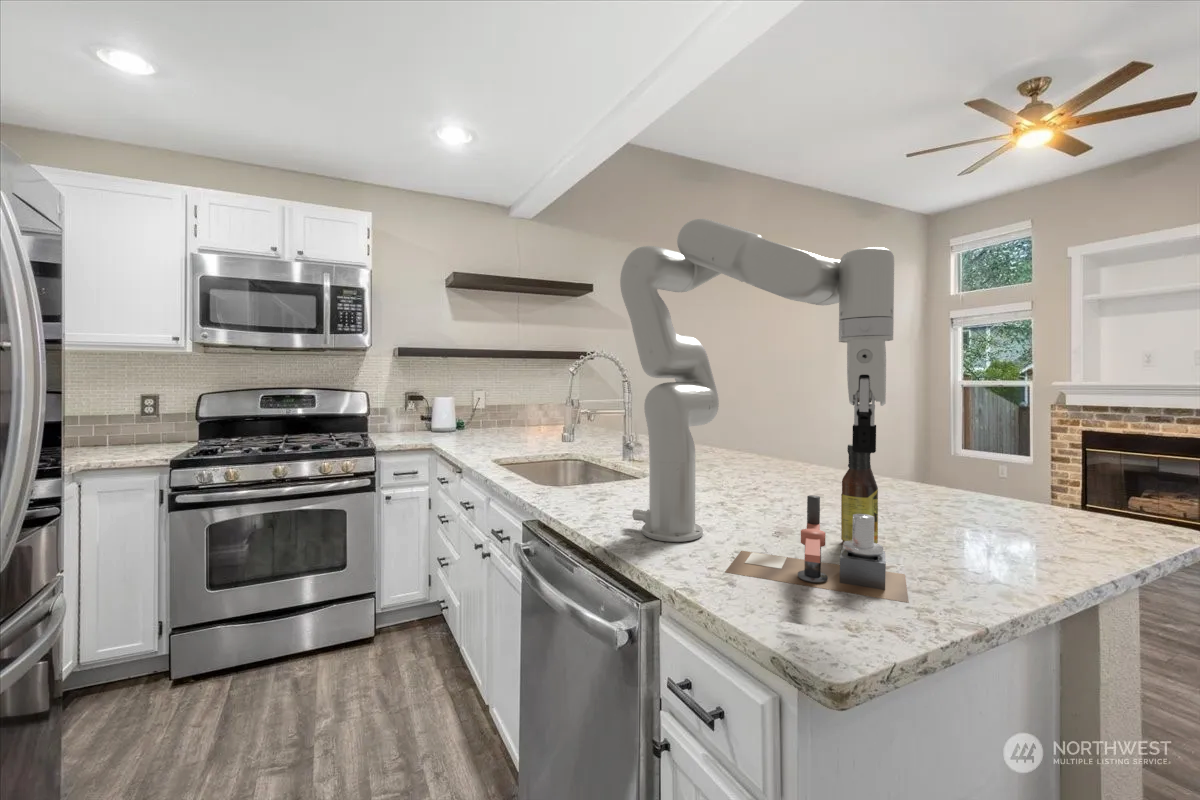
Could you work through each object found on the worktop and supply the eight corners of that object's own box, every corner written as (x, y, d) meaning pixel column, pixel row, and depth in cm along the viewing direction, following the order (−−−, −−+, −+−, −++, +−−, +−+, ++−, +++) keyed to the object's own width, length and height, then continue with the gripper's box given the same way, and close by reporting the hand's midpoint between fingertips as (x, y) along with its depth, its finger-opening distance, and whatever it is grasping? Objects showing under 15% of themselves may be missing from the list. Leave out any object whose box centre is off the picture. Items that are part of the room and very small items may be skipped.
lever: (802, 527, 92) (802, 494, 92) (824, 529, 91) (825, 496, 90) (798, 562, 75) (799, 521, 75) (826, 565, 74) (826, 524, 73)
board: (724, 578, 87) (724, 571, 87) (741, 555, 97) (741, 549, 97) (908, 609, 75) (908, 601, 75) (904, 580, 85) (904, 573, 85)
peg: (841, 582, 82) (842, 518, 82) (843, 570, 87) (844, 510, 87) (882, 589, 79) (884, 522, 79) (882, 576, 84) (883, 514, 84)
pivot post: (795, 580, 83) (796, 547, 83) (799, 571, 87) (799, 540, 87) (826, 585, 81) (826, 552, 81) (828, 576, 85) (829, 543, 85)
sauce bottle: (882, 556, 97) (884, 447, 96) (845, 554, 98) (847, 447, 97) (871, 545, 103) (873, 443, 102) (837, 543, 104) (838, 442, 104)
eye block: (839, 582, 82) (839, 557, 82) (841, 569, 87) (842, 545, 87) (885, 590, 79) (885, 563, 79) (884, 576, 85) (885, 551, 84)
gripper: (895, 326, 73) (893, 459, 74) (892, 334, 87) (890, 446, 88) (835, 329, 76) (834, 456, 77) (841, 336, 90) (840, 444, 91)
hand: (864, 450), depth 82 cm, fingers closed
